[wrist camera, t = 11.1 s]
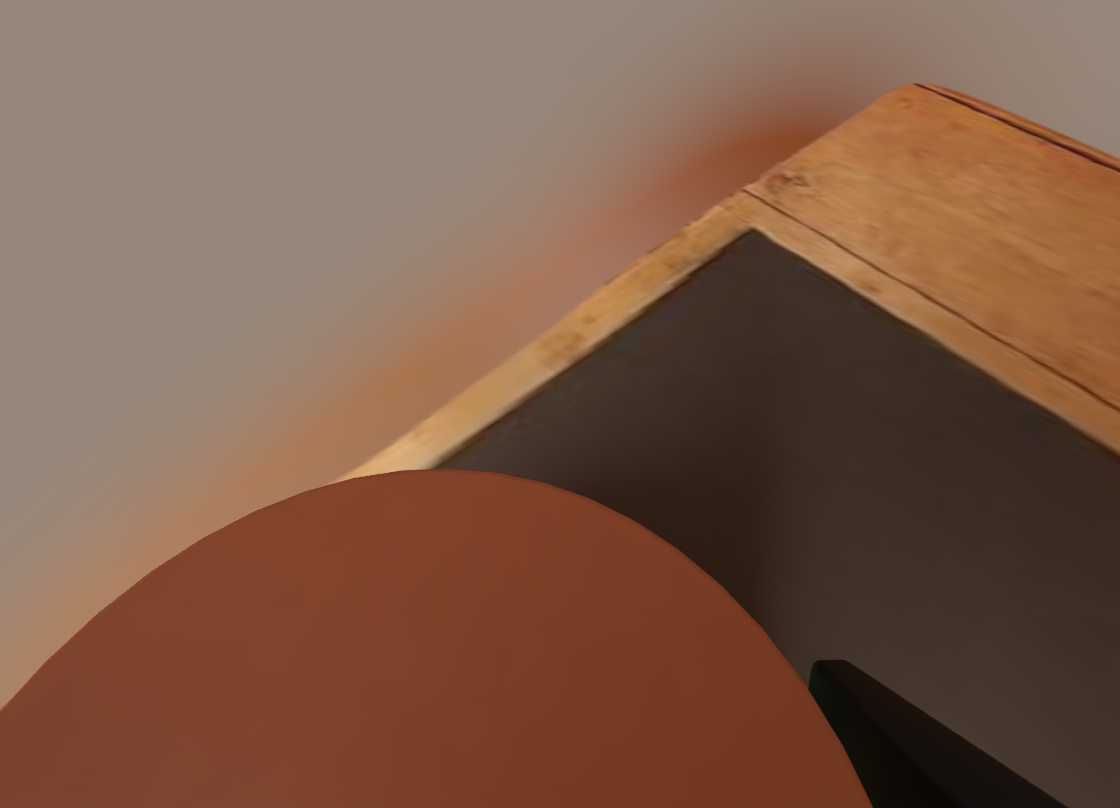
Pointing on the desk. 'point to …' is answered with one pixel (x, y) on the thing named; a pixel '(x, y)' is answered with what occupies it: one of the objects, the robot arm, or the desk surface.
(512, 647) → the snack canister
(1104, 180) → the desk surface
